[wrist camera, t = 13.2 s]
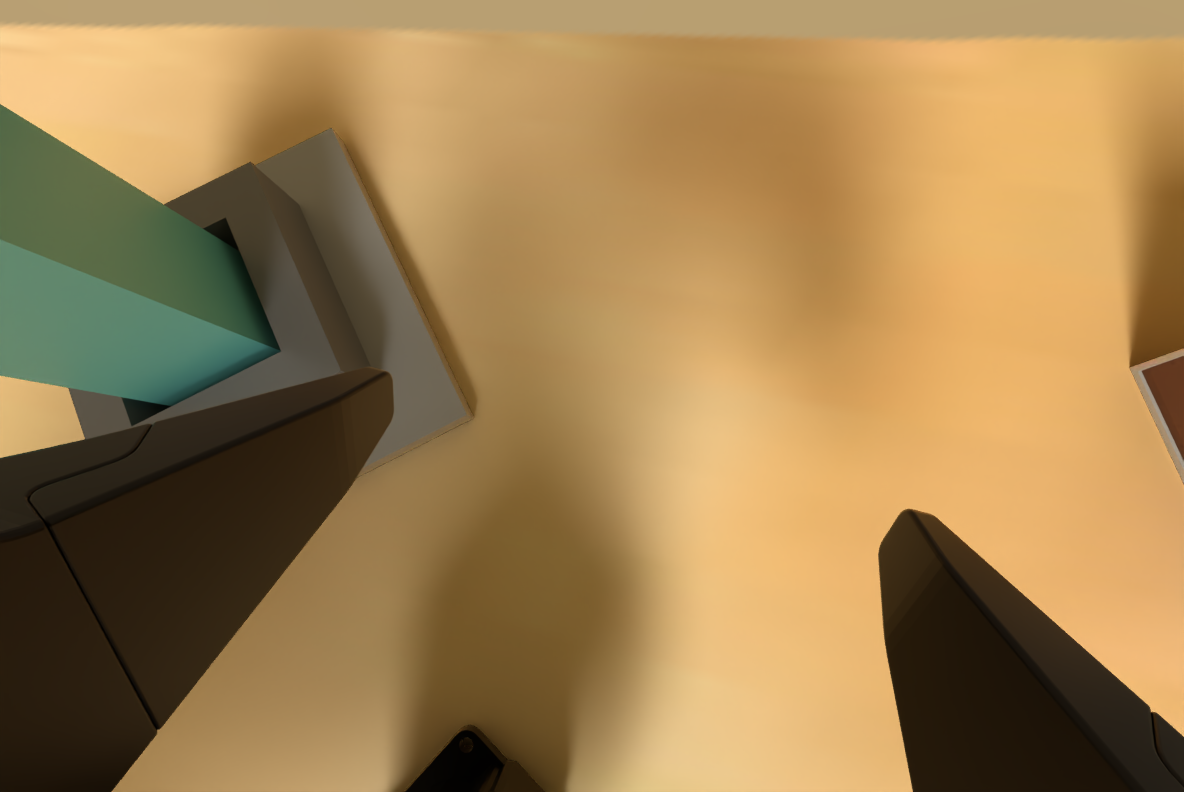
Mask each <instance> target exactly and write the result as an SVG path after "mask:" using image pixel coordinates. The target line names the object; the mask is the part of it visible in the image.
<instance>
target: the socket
mask: <svg viewBox="0 0 1184 792" xmlns="http://www.w3.org/2000/svg"><path fill="white" fill-rule="evenodd" d="M164 205H165V206H167V207H168V208H170V209H171V210H173V211H175V212H176V213H178V214H180V215H181V216H183V217H184V218H186V219H188V220H189V221H191V222H193V223H194V224H196V225H197V226H199V227H201V228H202V229H204V230H206V231H207V232H209V233H210V234H212V235H214V236H215V237H217V238H219V239H220V240H222V241H223V242H225V243H227V244H228V245H230V246H232V247H233V248H235V249H236V250H238V251H240V253H241V256H242V258H243V260H244V263H245V265H246V268H247V270H248V273H249V275H250V277H251V280H252V282H253V285H254V287H255V289H256V292H257V294H258V297H259V299H260V301H261V304H262V306H263V309H264V311H265V314H266V316H267V318H268V321H269V323H270V326H271V328H272V330H273V333H274V335H275V338H276V340H277V343H278V345H279V347H280V350H281V352H279V353H277V354H275V355H273V356H271V357H269V358H267V359H265V360H263V361H261V362H259V363H257V364H255V365H253V366H251V367H249V368H247V369H245V370H243V371H241V372H239V373H237V374H235V375H233V376H231V377H229V378H227V379H225V380H223V381H221V382H219V383H217V384H215V385H213V386H211V387H209V388H207V389H205V390H203V391H201V392H199V393H197V394H195V395H193V396H191V397H189V398H187V399H185V400H183V401H181V402H179V403H177V404H175V405H173V406H168V405H162V404H157V403H151V402H146V401H140V400H134V399H129V398H123V397H118V396H112V395H106V394H101V393H95V392H90V391H84V390H78V389H73V388H69V391H70V394H71V397H72V400H73V404H74V407H75V410H76V413H77V416H78V419H79V422H80V425H81V428H82V431H83V434H84V437H85V439H89V438H93V437H97V436H101V435H105V434H109V433H113V432H117V431H121V430H125V429H129V428H133V427H137V426H140V425H144V424H152V425H153V424H154V422H156V421H160V420H164V419H168V418H172V417H175V416H179V415H183V414H187V413H191V412H195V411H198V410H202V409H206V408H210V407H214V406H218V405H222V404H225V403H229V402H233V401H237V400H241V399H245V398H248V397H252V396H256V395H260V394H264V393H268V392H271V391H275V390H279V389H283V388H287V387H291V386H295V385H298V384H302V383H306V382H310V381H314V380H318V379H321V378H325V377H329V376H333V375H337V374H341V373H344V372H348V371H352V370H356V369H360V368H364V367H373V368H377V369H381V370H385V371H388V372H389V373H390V374H391V375H392V378H393V394H394V415H393V418H392V421H391V423H390V425H389V426H388V428H387V429H386V431H385V433H384V434H383V436H382V438H381V439H380V441H379V442H378V444H377V446H376V447H375V449H374V450H373V452H372V454H371V455H370V457H369V459H368V460H367V462H366V463H365V465H364V467H363V468H362V470H361V472H360V473H359V475H358V476H357V478H358V477H360V476H362V475H363V474H365V473H367V472H369V471H371V470H373V469H375V468H377V467H379V466H381V465H383V464H385V463H387V462H389V461H391V460H393V459H395V458H397V457H399V456H401V455H403V454H405V453H406V452H408V451H410V450H412V449H414V448H416V447H418V446H420V445H422V444H424V443H426V442H428V441H430V440H432V439H434V438H436V437H438V436H440V435H442V434H444V433H446V432H448V431H449V430H451V429H453V428H455V427H457V426H459V425H461V424H463V423H465V422H467V421H469V420H471V419H473V418H474V417H473V415H472V413H471V411H470V409H469V407H468V404H467V402H466V400H465V398H464V396H463V394H462V392H461V390H460V387H459V385H458V383H457V381H456V379H455V377H454V375H453V373H452V371H451V368H450V366H449V364H448V362H447V360H446V358H445V356H444V354H443V352H442V349H441V347H440V345H439V343H438V341H437V339H436V337H435V335H434V333H433V330H432V328H431V326H430V324H429V322H428V320H427V318H426V316H425V314H424V311H423V309H422V307H421V305H420V303H419V301H418V299H417V297H416V295H415V292H414V290H413V288H412V286H411V284H410V282H409V280H408V278H407V276H406V273H405V271H404V269H403V267H402V265H401V263H400V261H399V259H398V257H397V254H396V252H395V250H394V248H393V246H392V244H391V242H390V240H389V238H388V235H387V233H386V231H385V229H384V227H383V225H382V223H381V221H380V219H379V216H378V214H377V212H376V210H375V208H374V206H373V204H372V202H371V200H370V197H369V195H368V193H367V191H366V189H365V187H364V185H363V183H362V181H361V178H360V176H359V174H358V172H357V170H356V168H355V166H354V164H353V162H352V159H351V157H350V155H349V153H348V151H347V149H346V147H345V145H344V143H343V141H342V140H341V139H340V138H339V136H338V135H337V134H336V133H335V131H334V130H333V129H332V128H330V129H328V130H326V131H324V132H322V133H320V134H318V135H316V136H314V137H312V138H310V139H308V140H306V141H304V142H302V143H300V144H298V145H296V146H294V147H291V148H289V149H287V150H285V151H283V152H281V153H279V154H277V155H275V156H273V157H271V158H269V159H267V160H265V161H263V162H261V163H259V164H257V165H254V164H252V163H251V162H249V163H247V164H245V165H243V166H241V167H239V168H237V169H235V170H233V171H231V172H229V173H227V174H225V175H223V176H221V177H219V178H217V179H215V180H213V181H211V182H209V183H207V184H205V185H202V186H200V187H198V188H196V189H194V190H192V191H190V192H188V193H186V194H184V195H182V196H180V197H178V198H176V199H174V200H172V201H170V202H168V203H166V204H164Z"/></svg>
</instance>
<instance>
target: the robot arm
mask: <svg viewBox="0 0 1184 792" xmlns="http://www.w3.org/2000/svg"><path fill="white" fill-rule="evenodd" d="M393 415H394V394H393V378H392V375H391V374H390V373H389V372H388V371H385V370H381V369H377V368H373V367H364V368H360V369H356V370H352V371H348V372H344V373H341V374H337V375H333V376H329V377H325V378H321V379H318V380H314V381H310V382H306V383H302V384H298V385H295V386H291V387H287V388H283V389H279V390H275V391H271V392H268V393H264V394H260V395H256V396H252V397H248V398H245V399H241V400H237V401H233V402H229V403H225V404H222V405H218V406H214V407H210V408H206V409H202V410H198V411H195V412H191V413H187V414H183V415H179V416H175V417H172V418H168V419H164V420H160V421H156V422H154V424H153V425H152V424H144V425H140V426H137V427H133V428H129V429H125V430H121V431H117V432H113V433H109V434H105V435H101V436H97V437H93V438H89V439H85V440H81V441H76V442H72V443H67V444H63V445H58V446H54V447H49V448H45V449H40V450H36V451H31V452H27V453H22V454H17V455H12V456H8V457H3V458H0V792H112V790H113V789H114V788H115V787H116V785H117V784H118V783H119V781H120V780H121V779H122V778H123V776H124V775H125V774H126V773H127V771H128V770H129V769H130V767H131V766H132V765H133V764H134V762H135V761H136V760H137V759H138V757H139V756H140V755H141V754H142V752H143V751H144V750H145V748H146V747H147V746H148V745H149V743H150V742H151V741H152V740H153V738H154V737H155V736H156V734H157V730H159V729H160V728H161V727H162V726H163V725H164V724H165V722H166V721H167V720H168V719H169V717H170V716H171V715H172V713H173V712H174V711H175V710H176V708H177V707H178V706H179V705H180V703H181V702H182V701H183V700H184V698H185V697H186V696H187V694H188V693H189V692H190V691H191V689H192V688H193V687H194V686H195V684H196V683H197V682H198V680H199V679H200V678H201V677H202V675H203V674H204V673H205V672H206V670H207V669H208V668H209V667H210V665H211V664H212V663H213V661H214V660H215V659H216V658H217V656H218V655H219V654H220V653H221V651H222V650H223V649H224V647H225V646H226V645H227V644H228V642H229V641H230V640H231V639H232V637H233V636H234V635H235V633H236V632H237V631H238V630H239V628H240V627H241V626H242V625H243V623H244V622H245V621H246V620H247V618H248V617H249V616H250V614H251V613H252V612H253V611H254V609H255V608H256V607H257V606H258V604H259V603H260V602H261V600H262V599H263V598H264V597H265V595H266V594H267V593H268V592H269V590H270V589H271V588H272V587H273V585H274V584H275V583H276V581H277V580H278V579H279V578H280V576H281V575H282V574H283V573H284V571H285V570H286V569H287V567H288V566H289V565H290V564H291V562H292V561H293V560H294V559H295V557H296V556H297V555H298V553H299V552H300V551H301V550H302V548H303V547H304V546H305V545H306V543H307V542H308V541H309V540H310V538H311V537H312V536H313V534H314V533H315V532H316V531H317V529H318V528H319V527H320V526H321V524H322V523H323V522H324V520H325V519H326V518H327V517H328V515H329V514H330V513H331V512H332V510H333V509H334V508H335V507H336V505H337V504H338V503H339V501H340V500H341V499H342V498H343V496H344V495H345V494H346V492H347V491H348V490H349V488H350V487H351V485H352V484H353V482H354V481H355V479H356V478H357V476H358V475H359V473H360V472H361V470H362V468H363V467H364V465H365V463H366V462H367V460H368V459H369V457H370V455H371V454H372V452H373V450H374V449H375V447H376V446H377V444H378V442H379V441H380V439H381V438H382V436H383V434H384V433H385V431H386V429H387V428H388V426H389V425H390V423H391V421H392V418H393ZM878 559H879V573H880V587H881V602H882V616H883V629H884V639H885V646H886V652H887V658H888V663H889V668H890V674H891V679H892V684H893V689H894V695H895V700H896V705H897V710H898V716H899V721H900V726H901V731H902V737H903V742H904V747H905V752H906V758H907V763H908V768H909V773H910V779H911V784H912V789H913V792H1184V737H1183V736H1182V735H1181V734H1180V733H1179V732H1178V731H1177V730H1176V729H1174V728H1173V727H1172V726H1171V725H1170V724H1169V723H1168V722H1167V721H1165V720H1164V719H1163V718H1162V717H1161V716H1160V715H1159V714H1157V713H1155V712H1151V710H1150V707H1149V706H1148V705H1147V704H1146V703H1145V702H1144V701H1143V700H1142V699H1140V698H1139V697H1138V696H1137V695H1136V694H1135V693H1134V692H1133V691H1131V690H1130V689H1129V688H1128V687H1127V686H1126V685H1125V684H1124V683H1122V682H1121V681H1120V680H1119V679H1118V678H1117V677H1116V676H1114V675H1113V674H1112V673H1111V672H1110V671H1109V670H1108V669H1107V668H1105V667H1104V666H1103V665H1102V664H1101V663H1100V662H1099V661H1098V660H1096V659H1095V658H1094V657H1093V656H1092V655H1091V654H1090V653H1089V652H1087V651H1086V650H1085V649H1084V648H1083V647H1082V646H1081V645H1080V644H1078V643H1077V642H1076V641H1075V640H1074V639H1073V638H1072V637H1070V636H1069V635H1068V634H1067V633H1066V632H1065V631H1064V630H1063V629H1061V628H1060V627H1059V626H1058V625H1057V624H1056V623H1055V622H1054V621H1052V620H1051V619H1050V618H1049V617H1048V616H1047V615H1046V614H1045V613H1043V612H1042V611H1041V610H1040V609H1039V608H1038V607H1037V606H1036V605H1034V604H1033V603H1032V602H1031V601H1030V600H1029V599H1028V598H1027V597H1025V596H1024V595H1023V594H1022V593H1021V592H1020V591H1019V590H1018V589H1016V588H1015V587H1014V586H1013V585H1012V584H1011V583H1010V582H1008V581H1007V580H1006V579H1005V578H1004V577H1003V576H1002V575H1001V574H999V573H998V572H997V571H996V570H995V569H994V568H993V567H992V566H990V565H989V564H988V563H987V562H986V561H985V560H984V559H983V558H981V557H980V556H979V555H978V554H977V553H976V552H975V551H974V550H972V549H971V548H970V547H969V546H968V545H967V544H966V543H965V542H963V541H962V540H961V539H960V538H959V537H958V536H957V535H956V534H954V533H953V532H952V531H951V530H950V529H949V528H948V527H947V526H945V525H944V524H943V523H942V522H941V521H940V520H939V519H937V518H936V517H935V516H933V515H931V514H928V513H924V512H921V511H917V510H913V509H906V510H903V511H902V512H901V513H900V514H899V516H898V517H897V519H896V520H895V522H894V523H893V525H892V527H891V528H890V530H889V531H888V533H887V534H886V536H885V537H884V539H883V540H882V542H881V545H880V548H879V554H878ZM465 737H468V738H470V739H471V740H472V742H473V747H471V748H467V747H466V746H464V744H463V738H465ZM404 792H544V791H543V790H542V789H541V787H540V786H539V785H538V784H537V783H536V782H535V781H534V780H533V779H532V778H531V777H530V776H529V774H528V773H527V772H526V771H525V770H524V769H523V768H522V767H521V766H520V765H519V764H518V763H517V762H516V761H511V760H507V759H506V758H505V757H504V756H503V755H502V754H501V753H500V751H499V750H498V749H497V748H496V747H495V746H494V745H493V744H492V743H491V742H490V741H489V740H488V738H487V737H486V736H485V735H484V734H483V733H482V732H481V731H480V730H479V729H478V728H477V727H475V726H472V725H468V726H464V727H463V728H461V729H460V730H459V731H458V732H457V733H456V734H455V736H454V737H453V738H452V739H451V740H450V741H449V742H448V743H447V744H446V746H445V747H444V748H443V749H442V750H441V751H440V752H439V753H438V754H437V756H436V757H435V758H434V759H433V760H432V761H431V762H430V763H429V765H428V766H427V767H426V768H425V769H424V770H423V771H422V772H421V773H420V775H419V776H418V777H417V778H416V779H415V780H414V781H413V782H412V783H411V785H410V786H409V787H408V788H407V789H406V790H405V791H404Z"/></svg>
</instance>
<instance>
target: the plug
mask: <svg viewBox="0 0 1184 792" xmlns="http://www.w3.org/2000/svg"><path fill="white" fill-rule="evenodd" d="M279 352H281V350H280V347H279V345H278V343H277V340H276V338H275V335H274V333H273V330H272V328H271V326H270V323H269V321H268V318H267V316H266V314H265V311H264V309H263V306H262V304H261V301H260V299H259V297H258V294H257V292H256V289H255V287H254V285H253V282H252V280H251V277H250V275H249V273H248V270H247V268H246V265H245V263H244V260H243V258H242V256H241V253H240V251H238V250H236V249H235V248H233V247H232V246H230V245H228V244H227V243H225V242H223V241H222V240H220V239H219V238H217V237H215V236H214V235H212V234H210V233H209V232H207V231H206V230H204V229H202V228H201V227H199V226H197V225H196V224H194V223H193V222H191V221H189V220H188V219H186V218H184V217H183V216H181V215H180V214H178V213H176V212H175V211H173V210H171V209H170V208H168V207H167V206H165V205H163V204H162V203H160V202H158V201H157V200H155V199H154V198H152V197H150V196H149V195H147V194H145V193H144V192H142V191H141V190H139V189H137V188H136V187H134V186H132V185H131V184H129V183H128V182H126V181H124V180H123V179H121V178H119V177H118V176H116V175H115V174H113V173H111V172H110V171H108V170H106V169H105V168H103V167H102V166H100V165H98V164H97V163H95V162H93V161H92V160H90V159H89V158H87V157H85V156H84V155H82V154H80V153H79V152H77V151H76V150H74V149H72V148H71V147H69V146H67V145H66V144H64V143H63V142H61V141H59V140H58V139H56V138H54V137H53V136H51V135H50V134H48V133H46V132H45V131H43V130H41V129H40V128H38V127H37V126H35V125H33V124H32V123H30V122H28V121H27V120H25V119H24V118H22V117H20V116H19V115H17V114H15V113H14V112H12V111H10V110H9V109H7V108H6V107H4V106H2V105H1V104H0V376H6V377H11V378H17V379H22V380H28V381H34V382H39V383H45V384H50V385H56V386H62V387H67V388H73V389H78V390H84V391H90V392H95V393H101V394H106V395H112V396H118V397H123V398H129V399H134V400H140V401H146V402H151V403H157V404H162V405H168V406H173V405H175V404H177V403H179V402H181V401H183V400H185V399H187V398H189V397H191V396H193V395H195V394H197V393H199V392H201V391H203V390H205V389H207V388H209V387H211V386H213V385H215V384H217V383H219V382H221V381H223V380H225V379H227V378H229V377H231V376H233V375H235V374H237V373H239V372H241V371H243V370H245V369H247V368H249V367H251V366H253V365H255V364H257V363H259V362H261V361H263V360H265V359H267V358H269V357H271V356H273V355H275V354H277V353H279Z"/></svg>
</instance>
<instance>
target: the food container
mask: <svg viewBox="0 0 1184 792" xmlns="http://www.w3.org/2000/svg"><path fill="white" fill-rule="evenodd" d="M1130 370H1131V372H1132V374H1133V376H1134V378H1135V380H1136V382H1137V385H1138V387H1139V389H1140V391H1141V393H1142V395H1143V398H1144V400H1145V402H1146V404H1147V406H1148V408H1149V410H1150V413H1151V415H1152V417H1153V419H1154V421H1155V423H1156V425H1157V428H1158V430H1159V432H1160V434H1161V436H1162V438H1163V440H1164V443H1165V445H1166V447H1167V449H1168V451H1169V453H1170V456H1171V458H1172V460H1173V462H1174V464H1175V466H1176V468H1177V471H1178V473H1179V475H1180V477H1181V479H1182V481H1183V483H1184V348H1183V349H1180V350H1177V351H1174V352H1172V353H1169V354H1166V355H1163V356H1160V357H1158V358H1155V359H1152V360H1149V361H1146V362H1144V363H1141V364H1138V365H1135V366H1132V367H1130Z"/></svg>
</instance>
